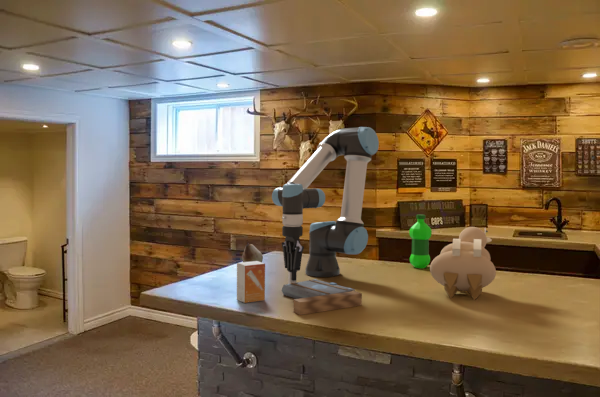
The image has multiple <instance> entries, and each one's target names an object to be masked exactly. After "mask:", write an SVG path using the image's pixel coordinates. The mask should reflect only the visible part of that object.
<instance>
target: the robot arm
mask: <svg viewBox="0 0 600 397" xmlns="http://www.w3.org/2000/svg"><path fill="white" fill-rule="evenodd" d="M379 143H380V142H379V137H378V135H377V132H376V131H375V130H374V129H373V128H372V127H369V126H368V127H367V126H359V127H346V128H345V127H343V128H339V129H336V130H334V131H333V132H331V133H329V134H328V135H327V136H325V137H324V139H323V140H322V141H320V142H319V144H318V145H317V146H316V150H315V151H314V153H312V155H311V156H310V157H309V158H308V159H307V160H306V161H305V162H304V163H303V165H302V166H301V167H300V168H299V169H298V170H297V171H296V172H295V174H293V176H292V177H291V178H290V179H289V180H288V181H287V183H285V184H283V186H282V187H281V186H279V187H277V188H275V189H273V191H272V194H271V200H272V202H273V204H274V205H276V206H279V207H282V217H281V219H282V225H283V226H282V227H281V228H282V229H281V230H282V231H281V232H282V236H283V237H285V239H284V241H283V242H281V247H282V254H283V263H284V269H286V271H287V284H291V283H297V272H299V271H300V270H301V265H302V257H303V252H304V249H305V247H304V245H301V241H300V237H302V236H303V235H304V234H303V232H304V231H303V229H304V228H303V226H302V225H303V224H304V219H303V217H304V216H303V214H304V213H303V212H304V211H303V210H304V209H317V208H322V207H323V206H324V204H325V202H326V193H325V192H324V190H322V189H321V188H316V187H315V188H314V187H312V188H308V187H309V186H311V184H312V182H314V180H315V179H316V178H317V177H318V176H319V175H320V174H321V172H322V171H323V170H324V169H325V168H326V167H327V165H328V164H329V163H330V162H333V161H335V160H336V159H337V158H338V157H339V156H344V157H343V158H344V160H345V161H346V168H345V175H344V176H345V178H344V184H343V185H344V186H343V194H342V202H341V211H340V217H339V218H338V219H336V220H332V221H331V220H330V221H318V222H312V223H311V224H310V226H309V232H308V233H309V238H308V240H309V244H308V245H309V256H308V260H307V262H306V263H307V264H306V266H305V273H304V274H306V275H307V276H311V277H318V278H326V277H327V278H329V277H331V278H332V277H337V276H339V275H340V274H341V273H340V272H341V268H340V265H339V262H338V260H337V256H336V255H337V253H339V254H345V255H359V254H361V253H362V252H363V251H364V249H365V248H366V246H367V244H368V241H369V234H368V231H367V229H366V228H365V227H364V224H365V223H364V222H363V220H362V211H363V202H364V194H365V185H366V179H367V178H366V176H367V167H368V163H369V162H371V161H372V156H374V155H375V154H376V153H377V152H378V150H379V148H380V147H379V145H380V144H379Z"/></svg>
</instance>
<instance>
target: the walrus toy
mask: <svg viewBox="0 0 600 397" xmlns="http://www.w3.org/2000/svg"><path fill="white" fill-rule="evenodd" d="M487 233H488V230H487V229H486V227H484V231H483V230H482V229H481V228H479V227H477V226H476V227H475V226H468V227H465V228H464V229H463V230H461V232H460V233H459V236H458V238H453V239H452V243H449V244H447V245H445V246H444V247H443V248H442V249H441V251H440V254H439V255H437V256H435V257H434V258H433V260H432V261H430V262H431V263H430V266H429V273H430V275H431V276H432V278H433V279H434V280H435V282H437V283H439V284H440V285H442V286H444V287H443V288H444V291H445V292H446V294H447V295H448V297H449V298H450V299H452V298H453V297H454V296H455V295H456V293H458V292H459V291H463V292H465V291H466V292H468V293H469V294H470V296H471V298H472V299H473V301H476V299H477V298H478V297H479V296H480V295H481V294H482V293H483V288H486V287H488V286H489V285H490V284H491V283H492V282H493V281H494V280H495V278H496V275H497V270H496V266H495V265H494V262H492V261H491V254H490V252H489V251H488V250H487V249H486V248H485V247H486V245H487V243H491V242H492V240H493V239H492V238H491V237H489V236H487Z"/></svg>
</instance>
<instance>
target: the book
mask: <svg viewBox="0 0 600 397" xmlns="http://www.w3.org/2000/svg"><path fill="white" fill-rule="evenodd" d="M351 291H356V289H355V288H351V287H347V286H343V285H339V284H338V283H337V282H327V281H323V280H319V279H317V278H315V279H309V280H303V281H299V282H297V281H296V283H291V284H288V283H286V284H283V286H282V288H281V292H282V294H283V296H285V297H289V298H292V299H300V298H308V297H315V296H322V295H329V294H336V293H344V292H351Z"/></svg>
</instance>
